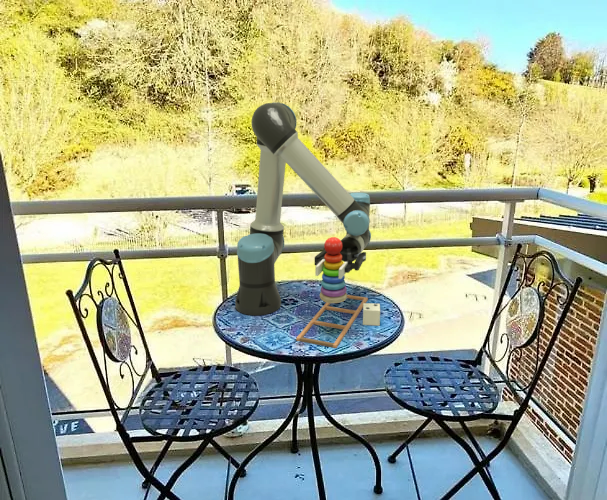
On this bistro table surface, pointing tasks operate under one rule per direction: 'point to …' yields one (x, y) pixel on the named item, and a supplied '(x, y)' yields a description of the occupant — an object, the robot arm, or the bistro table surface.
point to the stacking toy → (333, 273)
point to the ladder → (345, 328)
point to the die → (371, 314)
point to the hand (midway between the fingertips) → (328, 272)
